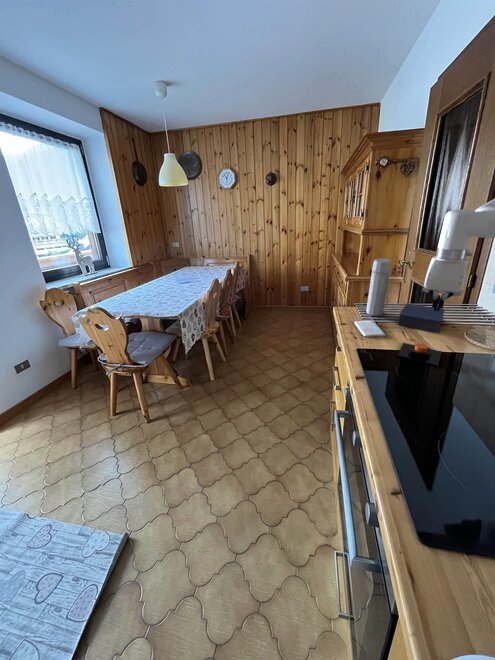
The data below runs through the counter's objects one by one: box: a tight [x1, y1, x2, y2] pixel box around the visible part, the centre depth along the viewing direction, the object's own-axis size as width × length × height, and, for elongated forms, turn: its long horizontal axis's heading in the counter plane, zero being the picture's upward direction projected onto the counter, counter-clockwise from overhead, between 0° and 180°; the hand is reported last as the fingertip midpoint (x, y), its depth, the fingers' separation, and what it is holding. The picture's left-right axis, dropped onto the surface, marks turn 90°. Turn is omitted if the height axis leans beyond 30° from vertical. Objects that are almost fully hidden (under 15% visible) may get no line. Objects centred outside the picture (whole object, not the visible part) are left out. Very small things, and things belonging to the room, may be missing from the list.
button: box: [414, 343, 429, 353], centre depth 97 cm, size 4×4×2 cm
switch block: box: [397, 342, 442, 368], centre depth 98 cm, size 12×10×3 cm
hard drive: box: [354, 320, 386, 338], centre depth 117 cm, size 2×8×12 cm
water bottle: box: [365, 258, 393, 317], centre depth 125 cm, size 9×8×25 cm
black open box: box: [397, 313, 445, 334], centre depth 120 cm, size 14×15×4 cm
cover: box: [398, 303, 446, 324], centre depth 118 cm, size 14×15×1 cm
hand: (436, 309), depth 94 cm, fingers closed
